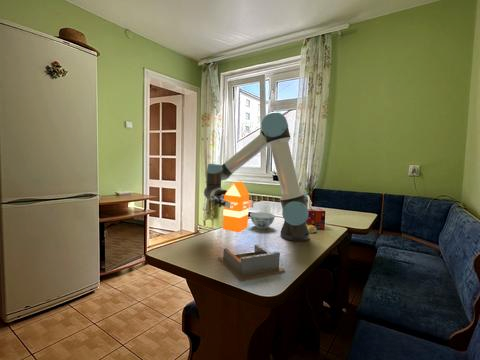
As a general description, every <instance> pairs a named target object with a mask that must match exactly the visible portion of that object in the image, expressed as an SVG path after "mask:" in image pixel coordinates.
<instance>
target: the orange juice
mask: <svg viewBox="0 0 480 360" xmlns="http://www.w3.org/2000/svg"><path fill="white" fill-rule="evenodd" d="M249 198H250V194H249V191H248V190H247V188H246V185H244V182H243V180H242V181H241V180H240V181H234V182H232V184H231V186H230V187H229V188H228V189H227V192H226V194H225V195H224V200H227V201H229V202H230V209H228V208H226V207H224V206H223V211H222V212H223V213H222V216H223V217H222V218H223V220H222V230H223V231H229V232H234V233H241V232H242V231H245V230H246V229H247V228H248V226H249V225H248V224H249V223H248V222H249V221H248V220H249V208H250V207H249V206H248V200H249Z"/></svg>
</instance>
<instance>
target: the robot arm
mask: <svg viewBox="0 0 480 360" xmlns="http://www.w3.org/2000/svg"><path fill="white" fill-rule="evenodd" d="M260 126H261V130H260V131H259V134H258V135H257V136H256V137H254V138H253V140H251V141H250V142H249V143H247V144H246V145H244V146H243V148H241V149H240V150H239V151H237V152H236V153H235V154H234V155H232V156H231V157H230V158H229V159H227V160H226V161H225V162H224V163H223V164H221V163H208V164H207V168H206V187H205V188H204V190H203V195H204V197H205V198H206V199H207V200H208V201H210V202H212V203H213V205H214V206H218V208H222V207H223V208H224V207H226V208H228V209H230V202H229V201H227V200H224V195H225V194H226V192H227V191H228V189H224V188H222V181H226V180H228V179H229V178H230V176H232V175H233V174H234V173H235V172H236V171H238V170H239V169H241V168H242V167H243V166H244V165H246V164H247V163H248V162H249V161H251V160H252V159H253V158H254V157H256V156H257V155H258V154H260V153H261V152H262V151H263V150H265V149H266V148H267V147H268V146H269V147H270V150H271V153H272V154H271V155H272V157H273V161H274V162H273V163H274V165H275V170H276V174H277V178H278V182H279V187H280V191H281V197H280V198H279V201H280V204H281V208H282V209H281V210H282V213H281V214H282V217H283V219H284V221H283V224H282V227H281V230H280V234H279V236H280V237H281V238H282V239H284V240H288V241H293V242H294V241H295V242H306V241H308V240H309V239H310V233H309V232H308V228H307V225H308V224H307V220H308V217H309V213H310V212H309V207H308V205H309V204H308V203H309V197H308V195H305V193H304V192H302V191H301V190H300V185H299V181H298V177H297V173H296V168H295V164H294V161H293V156H292V152H291V148H290V143H289V142H290V140H291V133H290V130H289V123H288V120H287V117H285V115H284V114H283V113H281V112H278V111H273V112H269V113H267V114H266V115H265V116H264V117H263V118H262V121H261V125H260ZM248 206H249V208H254V200H252V199H251V198H250V197H249V200H248Z"/></svg>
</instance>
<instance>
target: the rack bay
mask: <svg viewBox="0 0 480 360" xmlns="http://www.w3.org/2000/svg"><path fill="white" fill-rule="evenodd" d="M280 257H281V252H280V251H275V252H270V251H269V250H267V249H266V248H264V247H262V246H261V245H259V244H254V250H252V251H247V252H246V251H245V252H238V253H233V252H232V251H231V250H229V249H228V248H227V247H225V248H223V255H222V256H218V258H217V259H218V261H220V262H221V263H222V265H223V266H224V267H226V268H227V270H229V271H230V273H232V274H233V275H234V276H235V278H237V279H238V280H239V281H240V282H244V281H249V280H253V279H259V278H263V277H268V276H273V275H279V274H282V273H283V274H284V273H285V272H286V270H285V269H284V268H282V267H280V260H281V259H280Z"/></svg>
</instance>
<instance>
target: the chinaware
mask: <svg viewBox="0 0 480 360" xmlns="http://www.w3.org/2000/svg"><path fill="white" fill-rule="evenodd" d="M249 215H250V220H251V222H252V224H254V225H255V227H256V228H257V229H261V230H263V229H264V230H265V229H268V227H269V226H271V225H272V224H273V222H274V221H275V218H276V215H275V214H273V213H271V212H264V211H261V212H257V211H255V212H251V213H249Z"/></svg>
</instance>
